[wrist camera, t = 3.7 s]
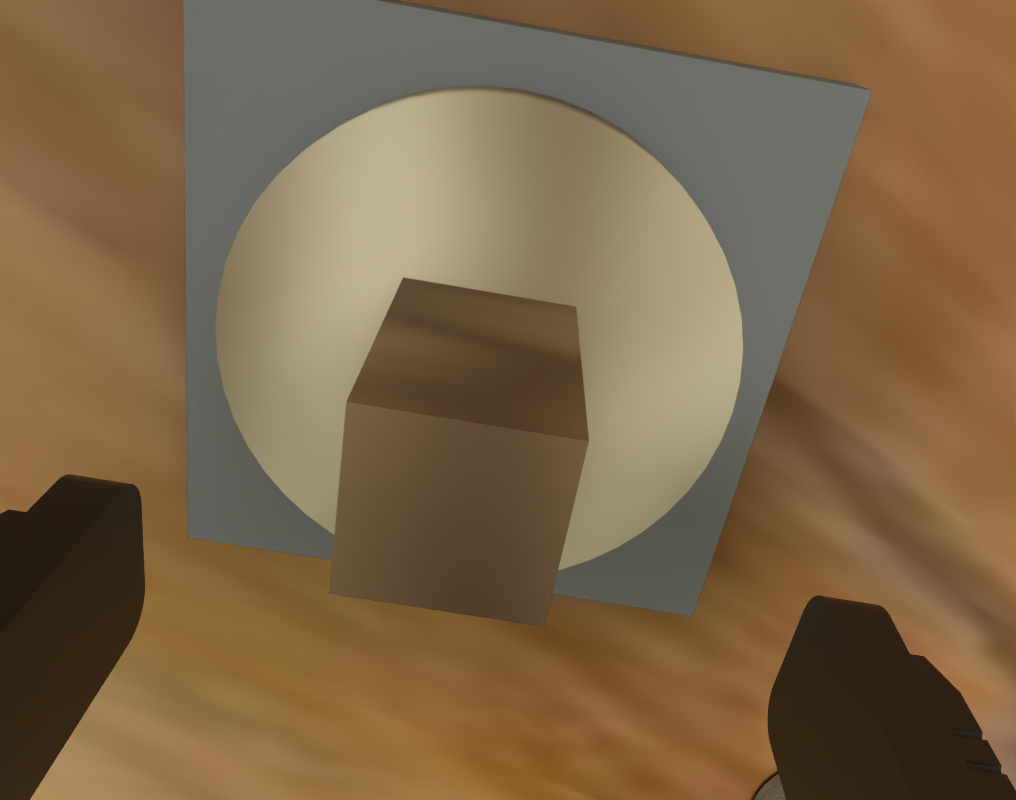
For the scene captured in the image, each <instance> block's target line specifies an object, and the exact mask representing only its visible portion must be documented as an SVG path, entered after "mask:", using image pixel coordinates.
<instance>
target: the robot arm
mask: <svg viewBox="0 0 1016 800" xmlns="http://www.w3.org/2000/svg"><path fill="white" fill-rule="evenodd" d="M144 595H145V576H144V553H143V530H142V506H141V496H140V492H139V490H138V488H137V487H136V486H135V485H133V484H127V483H121V482H115V481H109V480H102V479H96V478H90V477H84V476H77V475H70V474H68V475H65V476H63V477H61V478H60V479H59V480H58V481H56V483H55V484H54V485H53V486H52V487H51V488H50V489H49V490H48V491H47V492H46V493H45V494H44V495H43V496H42V497H41V498H40V499H39V500H38V501H37V502H36V503H35V504H34V505H33V506H32V507H31V508H30V509H29V510H28V511H27V512H21V511H14V510H7V511H5V512H3V513H1V514H0V800H30V799H31V797H32V795H33V794H34V792H35V791H36V789H37V788H38V786H39V784H40V783H41V781H42V780H43V778H44V777H45V775H46V773H47V772H48V770H49V769H50V767H51V766H52V764H53V762H54V761H55V759H56V758H57V756H58V754H59V753H60V751H61V750H62V748H63V747H64V745H65V743H66V742H67V740H68V739H69V737H70V736H71V734H72V732H73V731H74V729H75V728H76V726H77V725H78V723H79V721H80V720H81V718H82V717H83V715H84V714H85V712H86V710H87V709H88V707H89V706H90V704H91V702H92V701H93V699H94V698H95V696H96V695H97V693H98V691H99V690H100V688H101V687H102V685H103V684H104V682H105V680H106V679H107V677H108V676H109V674H110V673H111V671H112V669H113V668H114V666H115V665H116V663H117V661H118V660H119V658H120V657H121V655H122V654H123V652H124V650H125V649H126V647H127V646H128V644H129V642H130V641H131V639H132V637H133V635H134V633H135V630H136V628H137V625H138V622H139V619H140V616H141V612H142V608H143V603H144ZM982 733H983V732H982V730H981V729H980V727H979V725H978V723H977V722H976V720H975V718H974V716H973V714H972V713H971V711H970V709H969V707H968V706H967V704H966V702H965V700H964V699H963V697H962V695H961V693H960V692H959V691H958V690H957V689H956V688H955V687H954V686H953V685H952V684H951V683H950V682H949V681H948V680H947V679H946V678H945V677H944V676H943V675H942V674H941V673H940V672H939V671H938V670H937V669H936V668H935V667H934V666H933V665H932V664H931V663H930V662H929V661H928V660H927V659H926V658H925V657H924V656H919V655H912V654H910V653H909V652H908V650H907V648H906V646H905V644H904V642H903V640H902V638H901V636H900V634H899V632H898V631H897V629H896V627H895V625H894V623H893V621H892V619H891V617H890V615H889V614H888V612H887V611H886V610H885V609H884V608H883V607H882V606H880V605H874V604H868V603H862V602H855V601H849V600H843V599H837V598H830V597H824V596H815V597H813V598H812V599H811V600H810V601H809V602H808V604H807V605H806V607H805V609H804V611H803V614H802V616H801V619H800V621H799V624H798V626H797V629H796V631H795V634H794V636H793V639H792V641H791V643H790V646H789V648H788V651H787V653H786V656H785V658H784V661H783V663H782V666H781V668H780V670H779V673H778V675H777V678H776V680H775V683H774V685H773V688H772V691H771V695H770V700H769V707H768V734H769V740H770V744H771V748H772V752H773V755H774V759H775V762H776V766H777V770H778V773H779V777H780V780H781V784H782V787H783V791H784V794H785V798H786V800H1016V791H1015V789H1014V787H1013V785H1012V784H1011V782H1010V780H1009V778H1008V776H1007V775H1005V774H1002V773H1001V764H1000V762H999V761H998V759H997V757H996V755H995V753H994V752H993V750H992V748H991V746H990V745H989V743H988V741H987V740H983V739H982Z"/></svg>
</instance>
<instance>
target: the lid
mask: <svg viewBox="0 0 1016 800" xmlns="http://www.w3.org/2000/svg"><path fill="white" fill-rule="evenodd" d="M215 329H216V345H217V359H218V364H219V369H220V374H221V379H222V384H223V389H224V392H225V395H226V397H227V400H228V403H229V406H230V409H231V412H232V415H233V418H234V420H235V422H236V424H237V426H238V428H239V430H240V432H241V434H242V436H243V438H244V440H245V442H246V444H247V446H248V447H249V449H250V450H251V452H252V453H253V455H254V456H255V458H256V459H257V461H258V462H259V464H260V465H261V467H262V468H263V470H264V471H265V472H266V474H267V475H268V476H269V477H270V478H271V479H272V481H273V482H274V483H275V484H276V485H277V486H278V488H279V489H280V490H281V491H282V492H283V493H284V494H285V495H286V496H287V497H288V498H289V499H290V500H291V501H292V502H293V503H294V504H295V505H296V506H298V507H299V508H300V509H301V510H302V511H303V512H304V513H305V514H306V515H307V516H309V517H310V518H312V519H313V520H314V521H316V522H317V523H318V524H320V525H321V526H322V527H324V528H325V529H327V530H328V531H329V532H331V533H332V534H334V547H333V558H332V569H331V581H330V592H329V594H336V595H342V596H349V597H355V598H362V599H368V600H375V601H381V602H388V603H394V604H401V605H407V606H414V607H420V608H427V609H433V610H440V611H446V612H453V613H459V614H466V615H472V616H479V617H485V618H492V619H498V620H505V621H511V622H518V623H524V624H531V625H537V626H544V627H545V623H546V619H547V614H548V610H549V606H550V602H551V598H552V594H553V589H554V585H555V581H556V577H557V573H558V570H561V569H565V568H568V567H571V566H574V565H577V564H580V563H583V562H586V561H589V560H591V559H593V558H596V557H598V556H600V555H602V554H604V553H606V552H609V551H611V550H613V549H615V548H617V547H619V546H621V545H622V544H624V543H625V542H627V541H629V540H630V539H632V538H634V537H635V536H637V535H638V534H640V533H642V532H643V531H645V530H646V529H647V528H648V527H650V526H651V525H652V524H653V523H655V522H656V521H657V520H659V519H660V518H661V517H662V516H664V515H665V514H666V513H667V512H668V511H669V510H670V509H671V508H672V507H673V506H674V505H675V504H676V503H677V502H678V501H679V500H680V499H681V498H682V497H683V496H684V495H685V494H686V493H687V492H688V491H689V489H690V488H691V487H692V485H693V484H694V483H695V481H696V480H697V479H698V478H699V476H700V475H701V474H702V472H703V471H704V470H705V468H706V467H707V465H708V463H709V462H710V460H711V458H712V456H713V455H714V453H715V451H716V449H717V447H718V446H719V444H720V442H721V440H722V438H723V435H724V433H725V430H726V428H727V425H728V423H729V420H730V418H731V415H732V413H733V409H734V405H735V401H736V397H737V393H738V389H739V385H740V378H741V368H742V358H743V335H742V317H741V312H740V307H739V302H738V296H737V291H736V286H735V283H734V280H733V277H732V274H731V272H730V269H729V266H728V263H727V260H726V257H725V254H724V252H723V250H722V248H721V246H720V245H719V243H718V241H717V239H716V237H715V235H714V233H713V231H712V229H711V227H710V225H709V224H708V222H707V220H706V219H705V217H704V215H703V214H702V212H701V211H700V209H699V208H698V206H697V205H696V203H695V202H694V201H693V199H692V198H691V196H690V195H689V194H688V192H687V191H686V190H685V188H684V187H683V185H682V184H681V183H680V181H679V180H678V178H677V177H676V176H675V175H674V174H673V173H672V172H671V171H670V170H669V169H668V168H667V167H666V166H665V165H664V164H663V163H662V162H661V161H660V160H659V159H658V158H657V157H656V155H655V154H654V153H653V152H651V151H650V150H649V149H648V148H646V147H645V146H644V145H642V144H641V143H640V142H639V141H637V140H636V139H635V138H633V137H632V136H631V135H630V134H628V133H627V132H626V131H624V130H623V129H621V128H619V127H617V126H616V125H614V124H612V123H611V122H609V121H607V120H605V119H604V118H602V117H600V116H598V115H597V114H595V113H593V112H591V111H588V110H586V109H583V108H581V107H578V106H576V105H573V104H571V103H568V102H566V101H564V100H561V99H558V98H554V97H550V96H546V95H542V94H538V93H534V92H530V91H526V90H522V89H512V88H503V87H494V86H459V87H445V88H440V89H434V90H428V91H422V92H416V93H412V94H409V95H406V96H403V97H400V98H396V99H393V100H390V101H387V102H384V103H381V104H378V105H376V106H374V107H372V108H370V109H368V110H366V111H364V112H362V113H360V114H358V115H356V116H354V117H352V118H350V119H348V120H346V121H345V122H343V123H342V124H340V125H339V126H337V127H336V128H334V129H333V130H332V131H330V132H329V133H327V134H326V135H324V136H323V137H321V138H320V139H318V140H317V141H316V142H314V143H313V144H312V145H310V146H309V147H308V148H307V149H305V150H304V151H303V152H302V153H300V154H299V155H298V156H297V157H296V158H295V159H294V160H293V161H292V162H291V163H290V164H289V165H287V166H286V167H285V168H284V169H283V170H282V171H281V172H280V173H279V174H278V175H277V176H276V177H275V178H274V179H273V181H272V182H271V183H270V184H269V186H268V187H267V188H266V189H265V191H264V192H263V193H262V194H261V196H260V197H259V198H258V199H257V201H256V202H255V203H254V205H253V207H252V208H251V210H250V212H249V213H248V215H247V217H246V219H245V220H244V222H243V224H242V226H241V227H240V229H239V231H238V232H237V235H236V238H235V240H234V243H233V245H232V248H231V250H230V253H229V255H228V258H227V260H226V263H225V267H224V271H223V275H222V280H221V284H220V288H219V293H218V301H217V313H216V326H215Z"/></svg>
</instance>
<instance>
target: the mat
mask: <svg viewBox="0 0 1016 800" xmlns="http://www.w3.org/2000/svg"><path fill="white" fill-rule="evenodd" d="M183 9H184V133H185V258H186V382H187V506H188V538H194V539H200V540H207V541H213V542H220V543H226V544H232V545H239V546H245V547H252V548H258V549H265V550H271V551H277V552H284V553H290V554H297V555H303V556H310V557H316V558H322V559H329V560H332V558H333V547H334V534H332V533H331V532H329V531H328V530H327V529H325V528H324V527H322V526H321V525H320V524H318V523H317V522H316V521H314V520H313V519H312V518H310V517H309V516H307V515H306V514H305V513H304V512H303V511H302V510H301V509H300V508H299V507H298V506H296V505H295V504H294V503H293V502H292V501H291V500H290V499H289V498H288V497H287V496H286V495H285V494H284V493H283V492H282V491H281V490H280V489H279V488H278V486H277V485H276V484H275V483H274V482H273V481H272V479H271V478H270V477H269V476H268V475H267V474H266V472H265V471H264V470H263V468H262V467H261V465H260V464H259V462H258V461H257V459H256V458H255V456H254V455H253V453H252V452H251V450H250V449H249V447H248V446H247V444H246V442H245V440H244V438H243V436H242V434H241V432H240V430H239V428H238V426H237V424H236V422H235V420H234V418H233V415H232V412H231V409H230V406H229V403H228V400H227V397H226V395H225V392H224V389H223V384H222V379H221V374H220V369H219V364H218V359H217V345H216V329H215V326H216V313H217V301H218V293H219V288H220V284H221V280H222V275H223V271H224V267H225V263H226V260H227V258H228V255H229V253H230V250H231V248H232V245H233V243H234V240H235V238H236V235H237V232H238V231H239V229H240V227H241V226H242V224H243V222H244V220H245V219H246V217H247V215H248V213H249V212H250V210H251V208H252V207H253V205H254V203H255V202H256V201H257V199H258V198H259V197H260V196H261V194H262V193H263V192H264V191H265V189H266V188H267V187H268V186H269V184H270V183H271V182H272V181H273V179H274V178H275V177H276V176H277V175H278V174H279V173H280V172H281V171H282V170H283V169H284V168H285V167H286V166H287V165H289V164H290V163H291V162H292V161H293V160H294V159H295V158H296V157H297V156H298V155H299V154H300V153H302V152H303V151H304V150H305V149H307V148H308V147H309V146H310V145H312V144H313V143H314V142H316V141H317V140H318V139H320V138H321V137H323V136H324V135H326V134H327V133H329V132H330V131H332V130H333V129H334V128H336V127H337V126H339V125H340V124H342V123H343V122H345V121H346V120H348V119H350V118H352V117H354V116H356V115H358V114H360V113H362V112H364V111H366V110H368V109H370V108H372V107H374V106H376V105H378V104H381V103H384V102H387V101H390V100H393V99H396V98H400V97H403V96H406V95H409V94H412V93H416V92H422V91H428V90H434V89H440V88H445V87H459V86H494V87H503V88H512V89H522V90H526V91H530V92H534V93H538V94H542V95H546V96H550V97H554V98H558V99H561V100H564V101H566V102H568V103H571V104H573V105H576V106H578V107H581V108H583V109H586V110H588V111H591V112H593V113H595V114H597V115H598V116H600V117H602V118H604V119H605V120H607V121H609V122H611V123H612V124H614V125H616V126H617V127H619V128H621V129H623V130H624V131H626V132H627V133H628V134H630V135H631V136H632V137H633V138H635V139H636V140H637V141H639V142H640V143H641V144H642V145H644V146H645V147H646V148H648V149H649V150H650V151H651V152H653V153H654V154H655V155H656V157H657V158H658V159H659V160H660V161H661V162H662V163H663V164H664V165H665V166H666V167H667V168H668V169H669V170H670V171H671V172H672V173H673V174H674V175H675V176H676V177H677V178H678V180H679V181H680V183H681V184H682V185H683V187H684V188H685V190H686V191H687V192H688V194H689V195H690V196H691V198H692V199H693V201H694V202H695V203H696V205H697V206H698V208H699V209H700V211H701V212H702V214H703V215H704V217H705V219H706V220H707V222H708V224H709V225H710V227H711V229H712V231H713V233H714V235H715V237H716V239H717V241H718V243H719V245H720V246H721V248H722V250H723V252H724V254H725V257H726V260H727V263H728V266H729V269H730V272H731V274H732V277H733V280H734V283H735V286H736V291H737V296H738V302H739V307H740V312H741V317H742V335H743V358H742V368H741V378H740V385H739V389H738V393H737V397H736V401H735V405H734V409H733V413H732V415H731V418H730V420H729V423H728V425H727V428H726V430H725V433H724V435H723V438H722V440H721V442H720V444H719V446H718V447H717V449H716V451H715V453H714V455H713V456H712V458H711V460H710V462H709V463H708V465H707V467H706V468H705V470H704V471H703V472H702V474H701V475H700V476H699V478H698V479H697V480H696V481H695V483H694V484H693V485H692V487H691V488H690V489H689V491H688V492H687V493H686V494H685V495H684V496H683V497H682V498H681V499H680V500H679V501H678V502H677V503H676V504H675V505H674V506H673V507H672V508H671V509H670V510H669V511H668V512H667V513H666V514H665V515H664V516H662V517H661V518H660V519H659V520H657V521H656V522H655V523H653V524H652V525H651V526H650V527H648V528H647V529H646V530H645V531H643V532H642V533H640V534H638V535H637V536H635V537H634V538H632V539H630V540H629V541H627V542H625V543H624V544H622V545H621V546H619V547H617V548H615V549H613V550H611V551H609V552H606V553H604V554H602V555H600V556H598V557H596V558H593V559H591V560H589V561H586V562H583V563H580V564H577V565H574V566H571V567H568V568H565V569H561V570H558V573H557V577H556V581H555V585H554V589H553V594H554V595H560V596H567V597H573V598H579V599H586V600H592V601H599V602H605V603H612V604H618V605H624V606H631V607H637V608H644V609H650V610H657V611H663V612H669V613H676V614H682V615H689V616H693V614H694V611H695V608H696V605H697V602H698V600H699V597H700V594H701V591H702V588H703V585H704V582H705V579H706V576H707V573H708V570H709V567H710V564H711V561H712V558H713V556H714V553H715V550H716V547H717V544H718V541H719V538H720V535H721V532H722V529H723V526H724V523H725V520H726V517H727V514H728V512H729V509H730V506H731V503H732V500H733V497H734V494H735V491H736V488H737V485H738V482H739V479H740V476H741V473H742V470H743V468H744V465H745V462H746V459H747V456H748V453H749V450H750V447H751V444H752V441H753V438H754V435H755V432H756V429H757V426H758V424H759V421H760V418H761V415H762V412H763V409H764V406H765V403H766V400H767V397H768V394H769V391H770V388H771V385H772V382H773V380H774V377H775V374H776V371H777V368H778V365H779V362H780V359H781V356H782V353H783V350H784V347H785V344H786V341H787V338H788V336H789V333H790V330H791V327H792V324H793V321H794V318H795V315H796V312H797V309H798V306H799V303H800V300H801V297H802V294H803V292H804V289H805V286H806V283H807V280H808V277H809V274H810V271H811V268H812V265H813V262H814V259H815V256H816V253H817V250H818V248H819V245H820V242H821V239H822V236H823V233H824V230H825V227H826V224H827V221H828V218H829V215H830V212H831V209H832V206H833V203H834V201H835V198H836V195H837V192H838V189H839V186H840V183H841V180H842V177H843V174H844V171H845V168H846V165H847V162H848V159H849V157H850V154H851V151H852V148H853V145H854V142H855V139H856V136H857V133H858V130H859V127H860V124H861V121H862V118H863V115H864V113H865V110H866V107H867V104H868V101H869V98H870V95H871V92H872V91H871V90H869V89H866V88H863V87H860V86H858V85H855V84H851V83H846V82H840V81H835V80H829V79H824V78H818V77H813V76H808V75H802V74H797V73H791V72H786V71H780V70H775V69H769V68H764V67H758V66H753V65H747V64H742V63H736V62H731V61H725V60H720V59H714V58H709V57H703V56H698V55H692V54H687V53H682V52H676V51H671V50H665V49H660V48H654V47H649V46H643V45H638V44H632V43H627V42H621V41H616V40H610V39H605V38H599V37H594V36H588V35H583V34H577V33H572V32H566V31H561V30H556V29H550V28H545V27H539V26H534V25H528V24H523V23H517V22H512V21H506V20H501V19H495V18H490V17H484V16H479V15H473V14H468V13H462V12H457V11H451V10H446V9H440V8H435V7H430V6H424V5H419V4H413V3H408V2H402V1H397V0H183Z"/></svg>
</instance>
